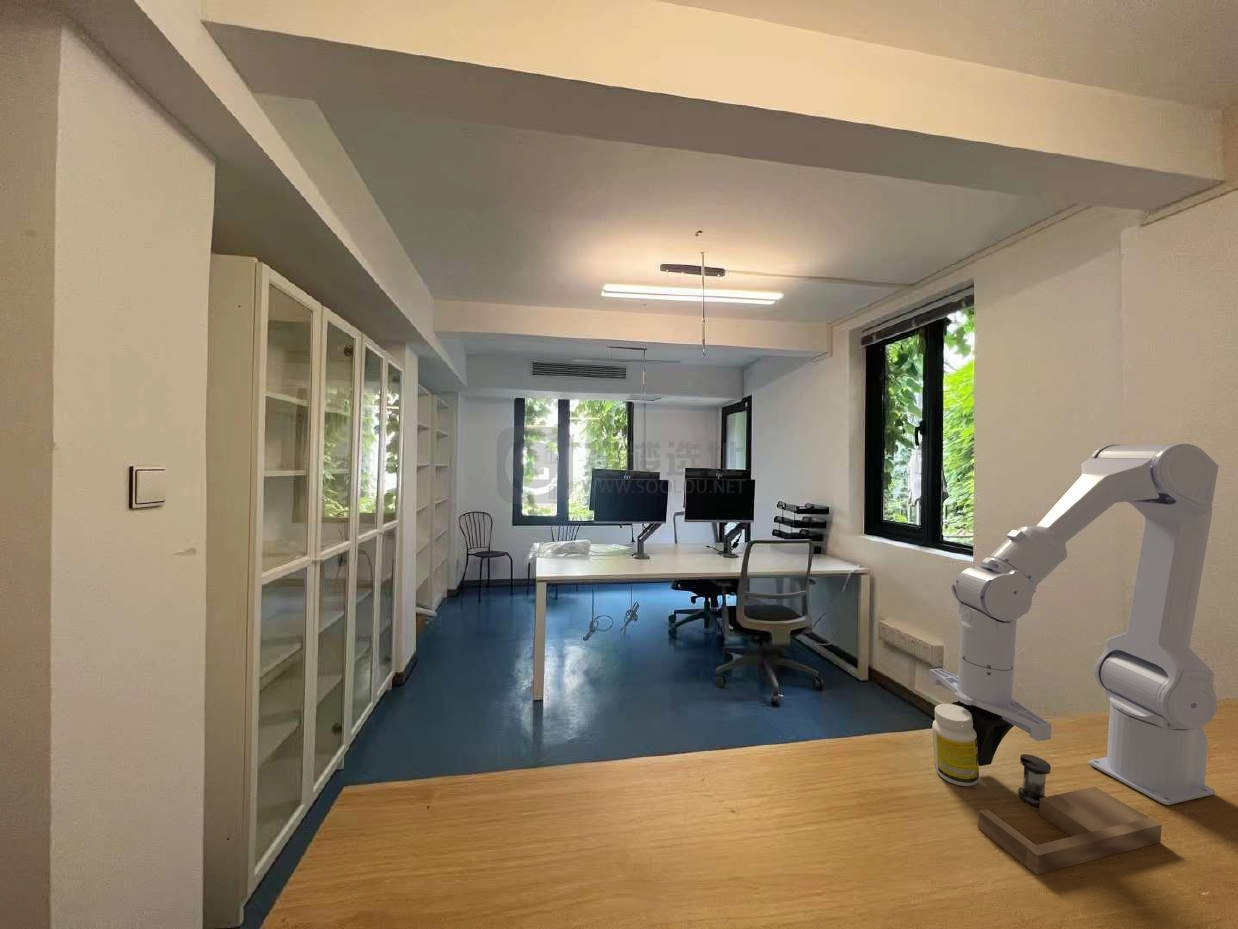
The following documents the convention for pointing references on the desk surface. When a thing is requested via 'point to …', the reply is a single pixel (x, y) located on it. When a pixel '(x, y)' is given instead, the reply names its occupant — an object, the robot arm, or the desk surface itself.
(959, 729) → the supplement bottle
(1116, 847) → the notched board
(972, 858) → the desk surface
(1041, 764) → the spool post
